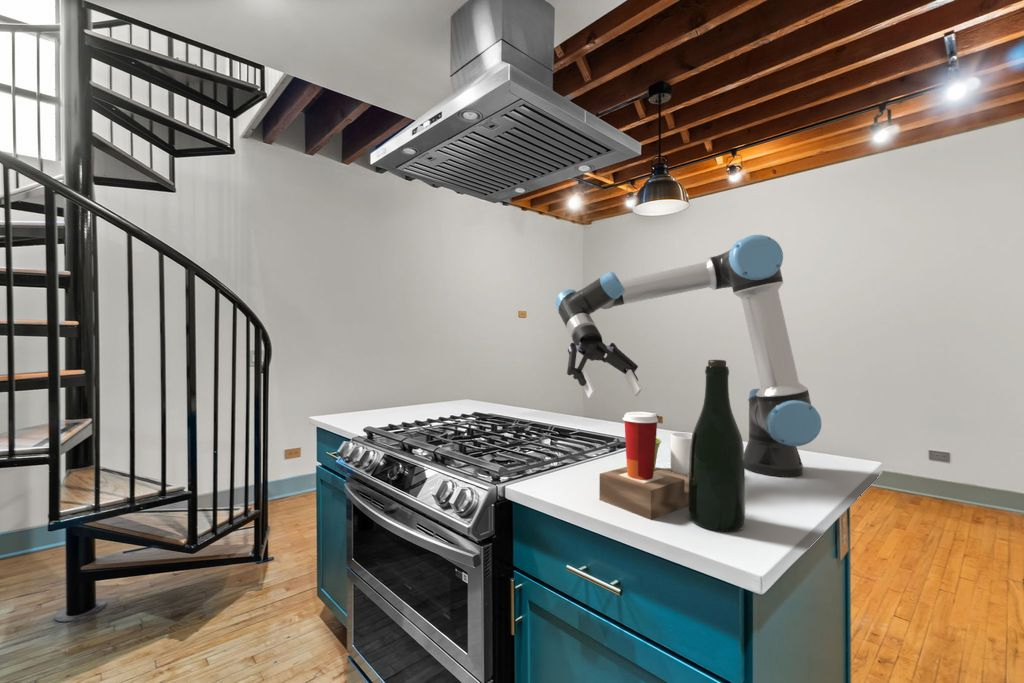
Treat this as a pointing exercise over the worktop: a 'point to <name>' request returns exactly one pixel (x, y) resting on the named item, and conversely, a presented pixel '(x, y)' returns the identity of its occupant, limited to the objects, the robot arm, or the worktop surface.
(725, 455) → the dark green wine bottle
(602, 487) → the step riser
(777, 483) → the worktop surface
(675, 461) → the mug
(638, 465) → the paper cup
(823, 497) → the worktop surface
